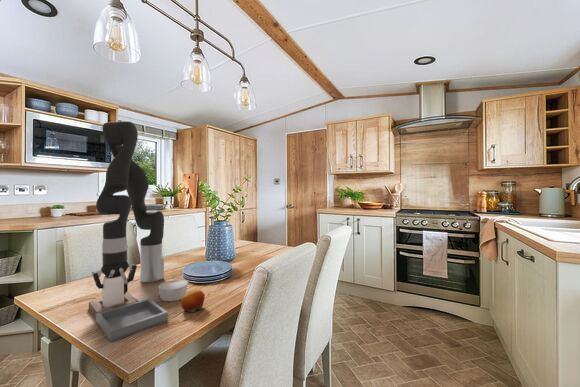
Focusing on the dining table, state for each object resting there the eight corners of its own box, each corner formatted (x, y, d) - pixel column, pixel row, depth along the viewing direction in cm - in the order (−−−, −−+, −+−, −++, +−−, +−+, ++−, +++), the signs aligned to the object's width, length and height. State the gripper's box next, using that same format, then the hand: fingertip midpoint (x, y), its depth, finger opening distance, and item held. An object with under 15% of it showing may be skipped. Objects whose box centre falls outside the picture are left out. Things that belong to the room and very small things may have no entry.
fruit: (194, 313, 87) (186, 290, 89) (181, 320, 91) (174, 298, 93) (213, 304, 94) (205, 283, 96) (200, 311, 97) (193, 290, 100)
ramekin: (181, 289, 112) (181, 277, 112) (192, 297, 104) (192, 284, 104) (154, 296, 104) (154, 284, 104) (163, 305, 96) (163, 291, 96)
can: (113, 313, 90) (113, 279, 90) (97, 311, 91) (97, 277, 91) (128, 305, 96) (128, 273, 96) (113, 303, 97) (113, 272, 97)
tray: (148, 306, 95) (148, 298, 95) (167, 321, 85) (167, 312, 85) (96, 323, 83) (96, 313, 83) (110, 342, 73) (110, 331, 73)
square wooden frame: (127, 298, 103) (127, 291, 103) (138, 307, 94) (138, 300, 94) (88, 308, 93) (88, 301, 93) (97, 320, 85) (97, 312, 85)
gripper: (133, 244, 102) (133, 287, 102) (88, 251, 91) (88, 299, 91) (140, 247, 97) (140, 292, 97) (93, 255, 86) (94, 305, 86)
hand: (115, 295), depth 94 cm, fingers closed on can, 4 cm apart
